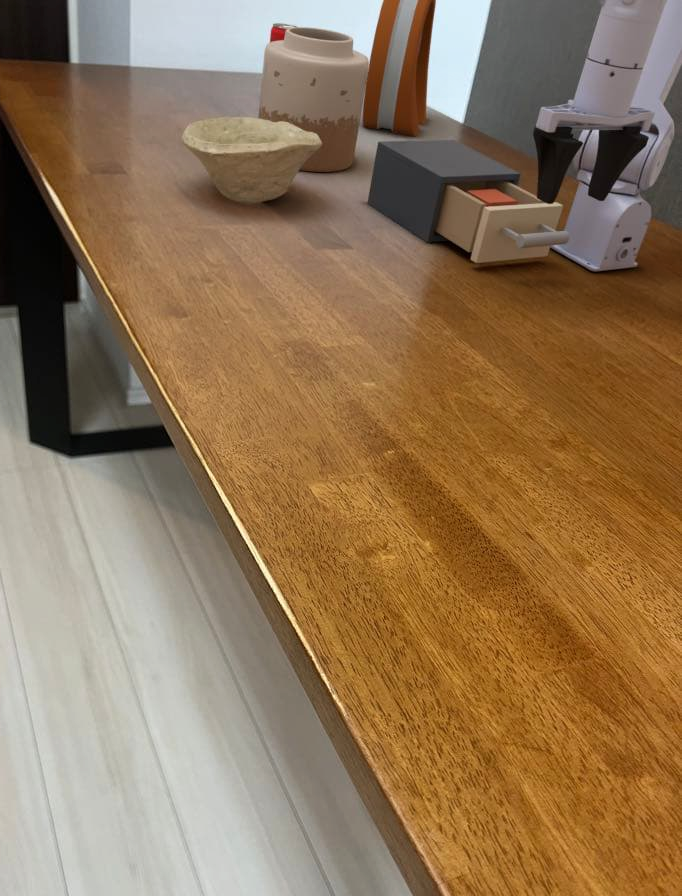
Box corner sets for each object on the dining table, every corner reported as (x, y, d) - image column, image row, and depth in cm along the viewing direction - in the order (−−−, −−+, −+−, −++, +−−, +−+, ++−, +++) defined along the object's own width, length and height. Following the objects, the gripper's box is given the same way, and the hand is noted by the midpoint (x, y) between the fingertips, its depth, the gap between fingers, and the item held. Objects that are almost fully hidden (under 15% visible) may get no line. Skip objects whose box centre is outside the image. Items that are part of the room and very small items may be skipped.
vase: (367, 158, 136) (388, 39, 125) (328, 179, 125) (347, 50, 114) (282, 136, 140) (295, 19, 130) (237, 155, 129) (247, 28, 119)
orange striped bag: (413, 141, 147) (444, -13, 133) (357, 131, 149) (382, -23, 134) (428, 115, 164) (457, -25, 150) (378, 105, 165) (402, -34, 151)
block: (507, 237, 108) (518, 200, 105) (479, 239, 106) (489, 202, 103) (485, 224, 111) (495, 188, 108) (458, 226, 109) (467, 190, 106)
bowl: (250, 248, 112) (166, 166, 105) (255, 193, 125) (180, 117, 118) (329, 174, 105) (245, 81, 98) (326, 124, 118) (251, 38, 111)
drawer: (572, 270, 104) (589, 218, 100) (499, 278, 100) (515, 224, 96) (481, 218, 116) (494, 170, 112) (413, 223, 111) (423, 172, 107)
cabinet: (503, 236, 114) (521, 173, 109) (427, 242, 109) (442, 176, 104) (440, 199, 124) (453, 139, 119) (367, 203, 118) (377, 141, 113)
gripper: (637, 55, 92) (593, 185, 101) (534, 51, 86) (497, 189, 95) (687, 71, 87) (637, 206, 96) (582, 68, 81) (538, 212, 90)
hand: (570, 199), depth 95 cm, fingers open, 7 cm apart
